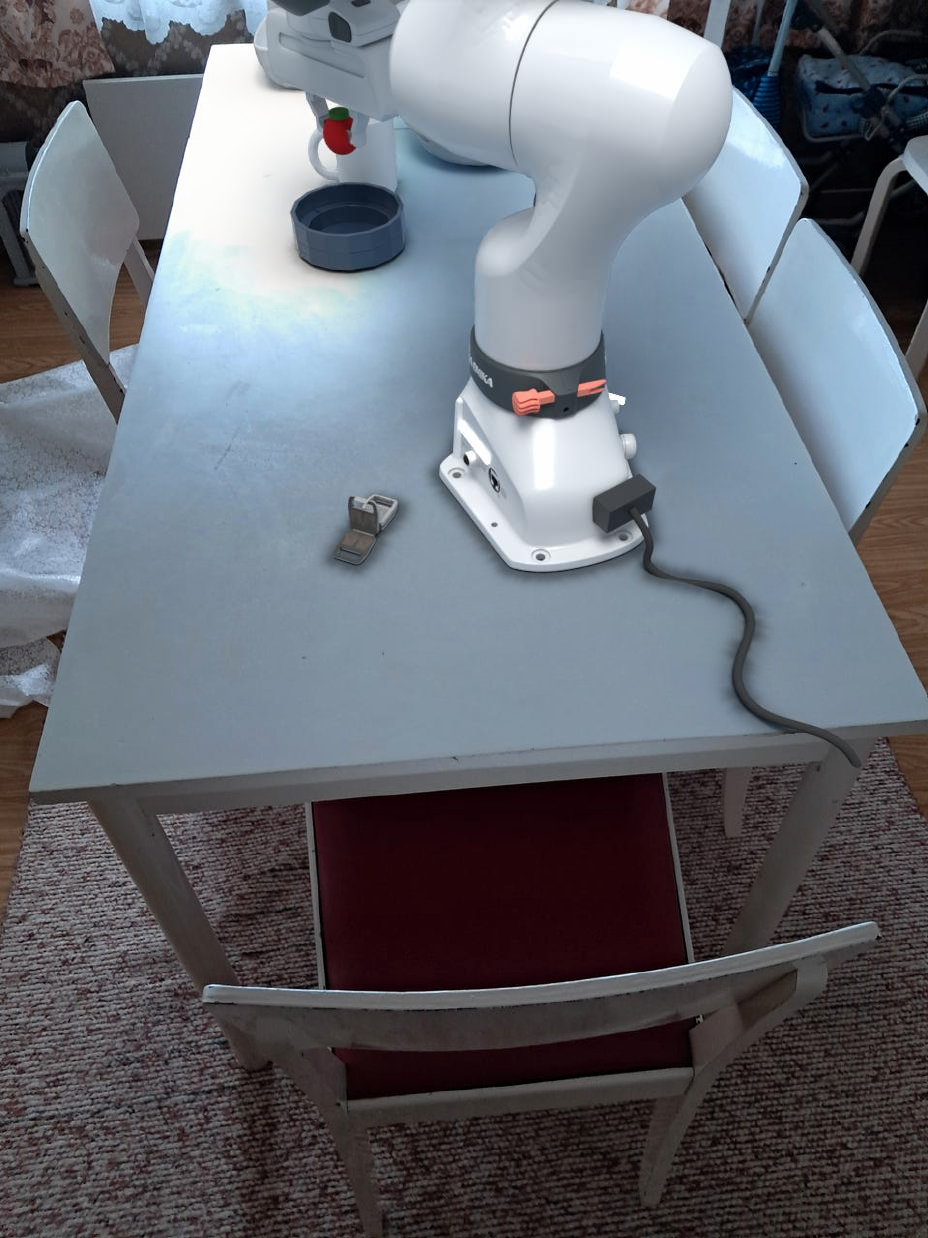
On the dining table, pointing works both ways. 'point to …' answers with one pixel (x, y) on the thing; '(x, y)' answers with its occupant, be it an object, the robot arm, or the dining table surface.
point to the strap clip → (365, 525)
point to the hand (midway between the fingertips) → (342, 138)
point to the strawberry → (338, 131)
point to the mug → (363, 157)
